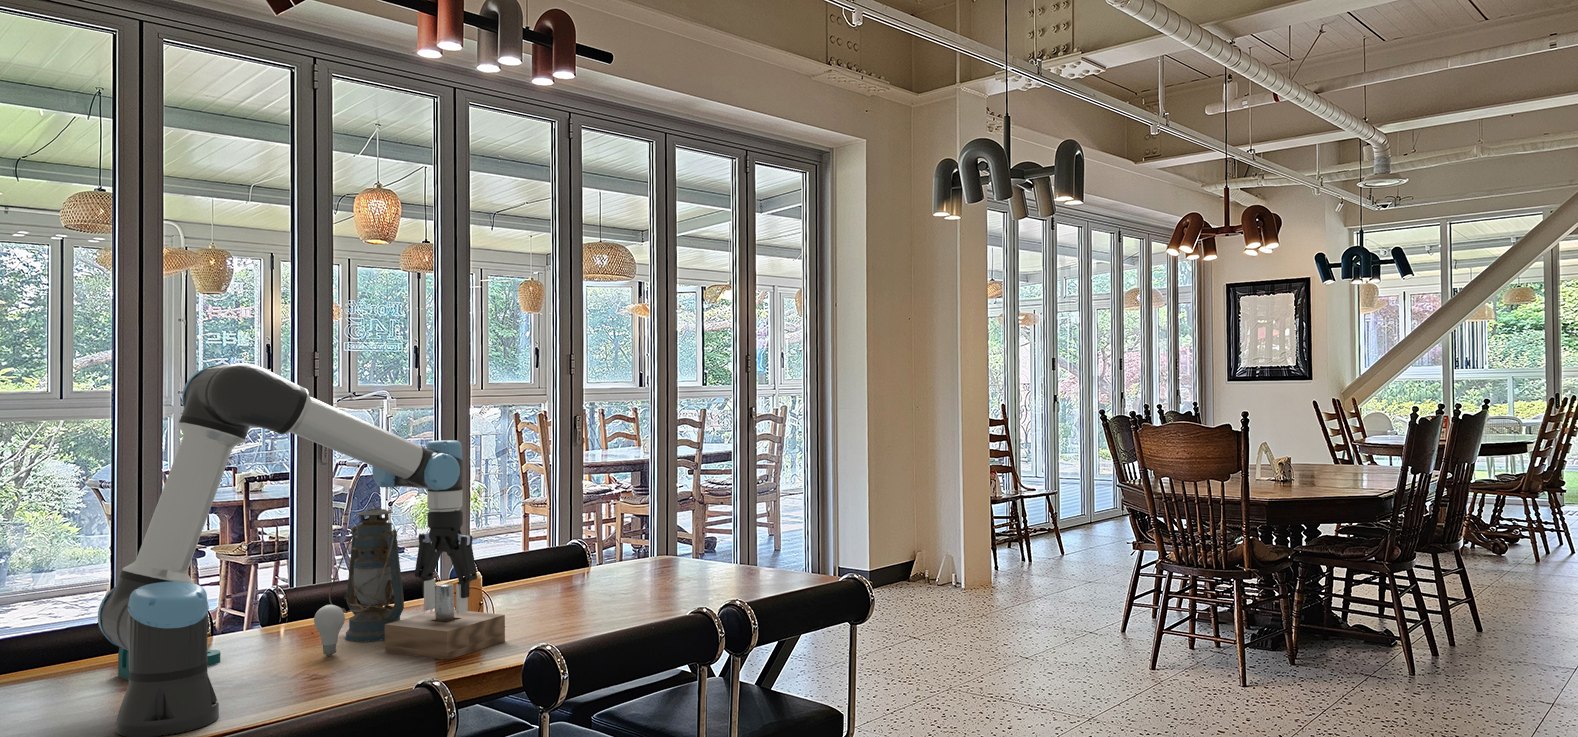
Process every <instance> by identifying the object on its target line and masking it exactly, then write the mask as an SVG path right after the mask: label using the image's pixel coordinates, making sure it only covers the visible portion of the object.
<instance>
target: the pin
mask: <svg viewBox="0 0 1578 737" xmlns="http://www.w3.org/2000/svg"><path fill="white" fill-rule="evenodd" d="M454 589H455V588H454V584H453V583H440V584H435V609H434V611H435V620H436V622H444V623H447V622H450V621H454V610H455V595H454V594H455V591H454Z"/></svg>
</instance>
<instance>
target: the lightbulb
mask: <svg viewBox="0 0 1578 737" xmlns="http://www.w3.org/2000/svg"><path fill="white" fill-rule="evenodd" d="M341 608H342V607H340V606H338V605H335V604H332V605H331V604H326V605H324V606H322V607H321V608H319V609H318V610H317V611H316V613H315V614H314V619H313V622H314V626H315V628H316V630H317V632H318V633H319V636H320V640H321V645H322V652H323V655H324V656H327V657H333V655H334V654H336V652H337V644H338V638H339V634H340V632H341V630H342V628H343V626H344V624H345V621H346V619H345V618H346V616H345V615H346V614H345V612H344V610H342V609H341Z"/></svg>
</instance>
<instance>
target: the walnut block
mask: <svg viewBox="0 0 1578 737" xmlns="http://www.w3.org/2000/svg"><path fill="white" fill-rule="evenodd" d="M504 642H506V614H501V613H491V612H490V613H489V612H483V611H482V612H481V611H473V610H472V611H471V610H468V612H464V613H460V614H456V609H454V621H450V622H447V623H444V622H436V620H435V610H434V611H432V612H427V613H423V614H419V615H415V616H412V617H409V618H403V619H400V621H396V622H392V623H388V624H385V640H384V653H390V654H396V655H397V654H399V655H407V656H413V657H421V658H428V659H435V658H436V659H437V660H443V659H449V660H452V659H454V658H457V657H460V656H464V655H466V654H470V653H473V652H476V651H479V650H482V649H486V648H488V647H489V648H490V647H492V646H495V645H498V644H501V643H504ZM451 658H452V659H451Z"/></svg>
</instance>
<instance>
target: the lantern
mask: <svg viewBox="0 0 1578 737" xmlns="http://www.w3.org/2000/svg"><path fill="white" fill-rule="evenodd" d="M393 513H394V512H393V511H391V510H388V509H385V508H383V509H382V508H381V509H380V506H376V507H373V508H371V509H366V510H363V511H361V512H357V513H356V514H355V515H357V516H360V524H356V525H355V526H353V527H351V528H352V529H351V531H352V533H351V536H350V538H349V540H348V543H347V545H346V547H345V550H344V552H343V554H342V557H341V559H340V561H339V564H338V567H337V569H336V572H335V575H334V577H333V580H332V583H331V586H330V590H329V594H328V600H329V603H330V604H329V605H333V603H332V600H331V595H332V592H333V591H332V590H333V587H334V585H335V581H336V579H337V575H338V573H339V571H340V568H341V565H342V562H343V560H344V557H345V556H346V552H347V550H348V548H349V545H350V543H351V550H350V557H349V558H350V561H349V568H348V579H347V587H346V594H345V595H344V600H346V603H347V606H348V608H349V610H347V611H346V609H345V608H344V607H340V608H341V609H342V611H343V612H344V614H348V613H350V612H351V613H353V615H352V616H351V617H349V618H348V624H349V625H348V630H346V632H345V640H346V641H350V642H359V643H361V642H365V643H366V642H376V641H377V642H378V641H385V624H388V623H392V622H396V621H400V620H401V615H402V613H403V611H404V609H405V605H404V604H405V599H404V598H405V597H404V588H403V581H402V580H403V579H402V572H401V563H400V554H399V546H398V545H399V543H398V542H399V541H398V531H397V529H393V523H392V522H388V521H389V520H390V519H389V514H393ZM383 515H384V517H380V516H383ZM365 516H367V517H368V518H365ZM392 603H393V604H394V605H393V606H392V605H390V604H392Z"/></svg>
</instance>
